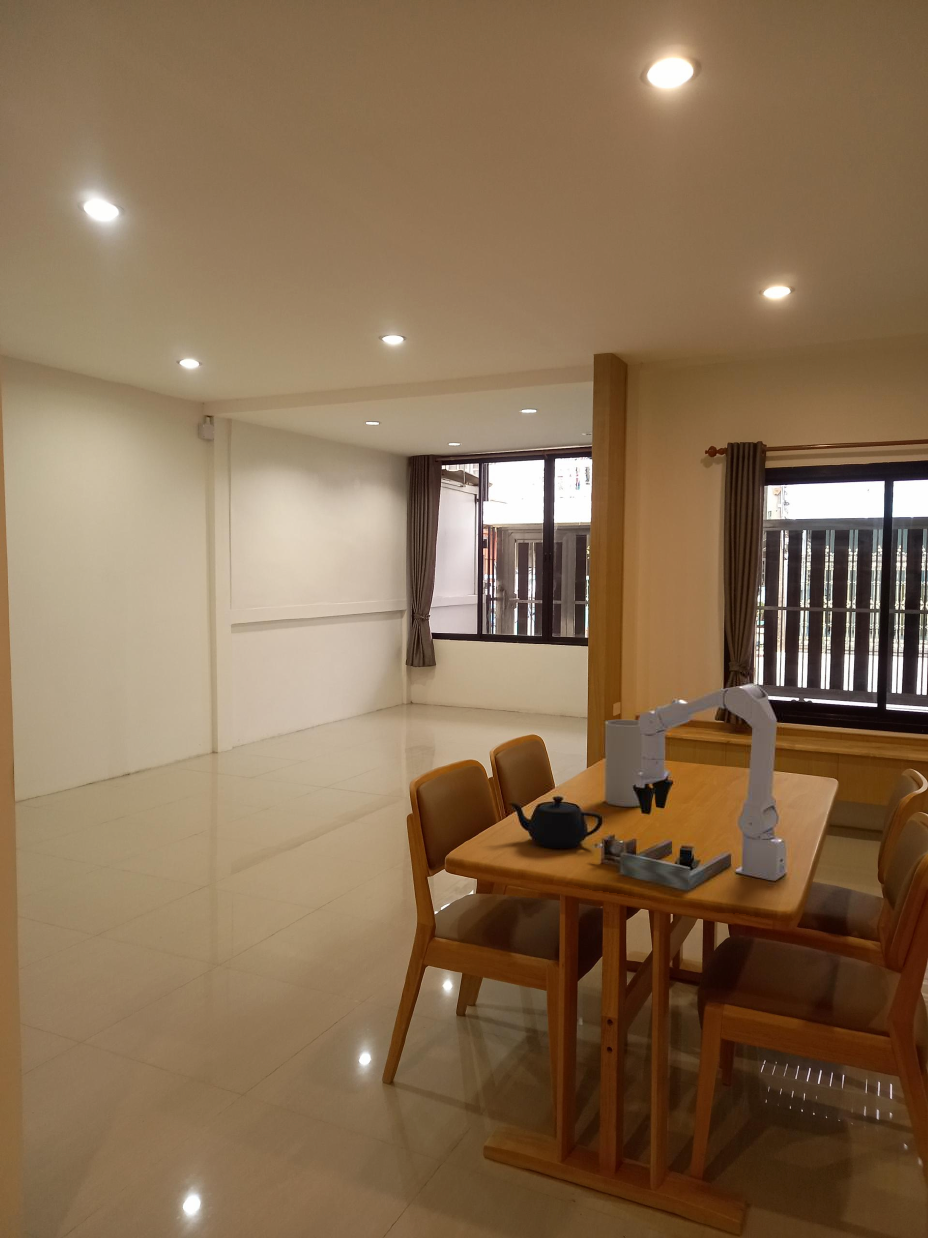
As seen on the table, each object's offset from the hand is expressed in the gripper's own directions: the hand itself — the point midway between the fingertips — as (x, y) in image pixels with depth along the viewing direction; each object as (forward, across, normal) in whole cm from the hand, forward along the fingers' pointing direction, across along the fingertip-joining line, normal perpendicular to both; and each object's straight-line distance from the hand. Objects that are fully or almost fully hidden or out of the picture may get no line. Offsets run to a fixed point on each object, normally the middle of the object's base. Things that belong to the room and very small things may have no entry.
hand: (653, 810), depth 221 cm
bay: (+10, +10, +12) cm, 19 cm away
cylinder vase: (+10, -38, -30) cm, 49 cm away
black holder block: (+11, +5, +12) cm, 17 cm away
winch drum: (+10, +15, -2) cm, 18 cm away
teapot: (+10, +11, -23) cm, 27 cm away
